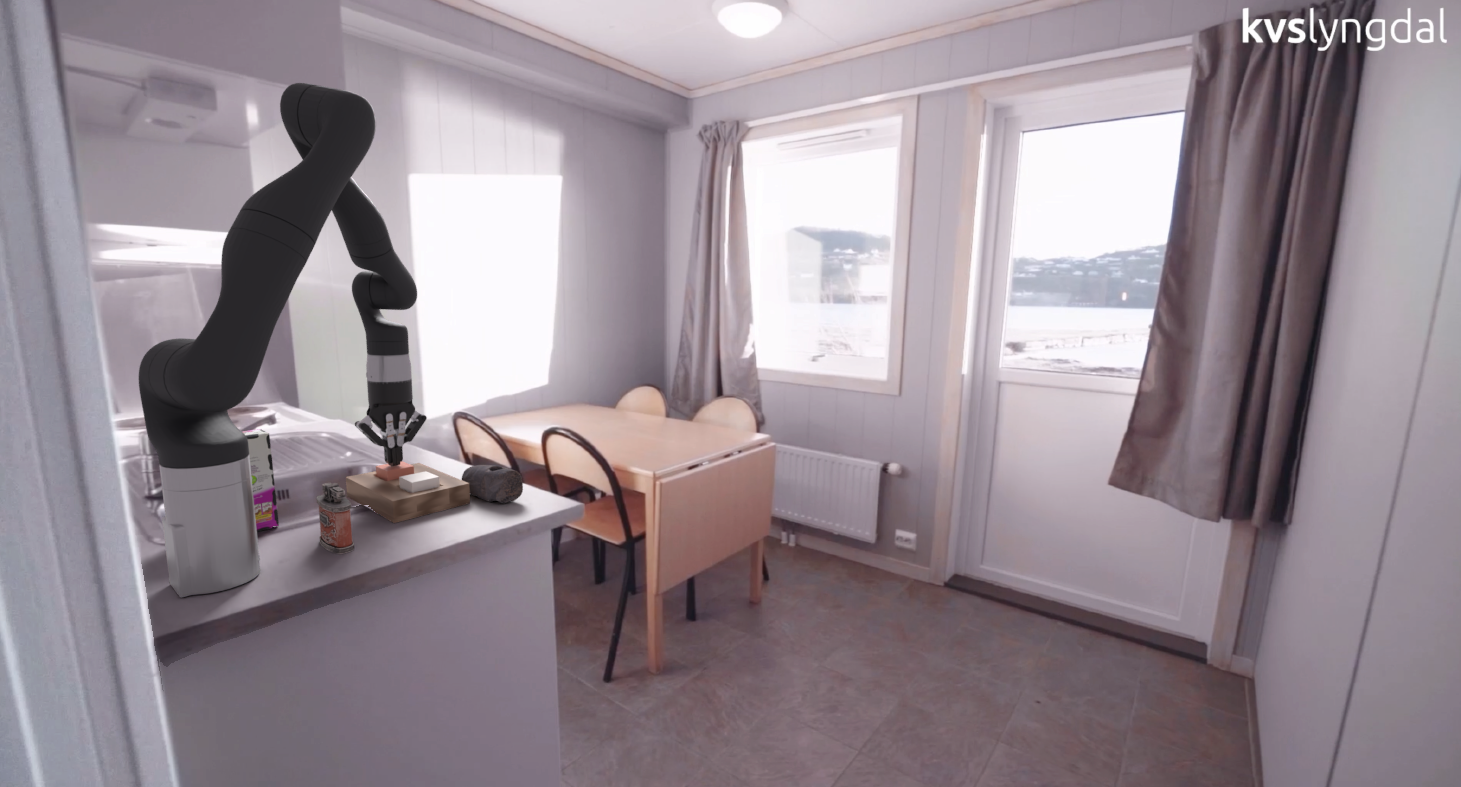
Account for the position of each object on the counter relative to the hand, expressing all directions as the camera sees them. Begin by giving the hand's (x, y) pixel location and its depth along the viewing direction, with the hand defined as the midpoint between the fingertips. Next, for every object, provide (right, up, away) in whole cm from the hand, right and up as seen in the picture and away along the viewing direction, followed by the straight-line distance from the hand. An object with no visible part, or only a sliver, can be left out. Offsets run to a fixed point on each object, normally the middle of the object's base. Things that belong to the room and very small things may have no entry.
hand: (394, 464), depth 120 cm
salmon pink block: (0, -4, +1) cm, 4 cm away
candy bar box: (-15, -9, -20) cm, 27 cm away
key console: (+4, -7, -2) cm, 8 cm away
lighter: (+4, -10, -23) cm, 26 cm away
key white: (+8, -5, -5) cm, 11 cm away
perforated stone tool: (+18, -7, +1) cm, 20 cm away
